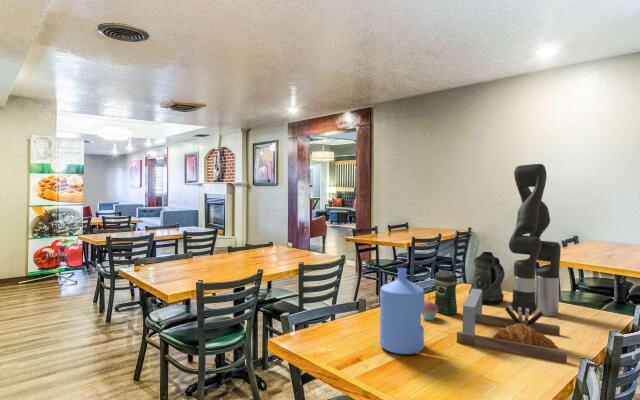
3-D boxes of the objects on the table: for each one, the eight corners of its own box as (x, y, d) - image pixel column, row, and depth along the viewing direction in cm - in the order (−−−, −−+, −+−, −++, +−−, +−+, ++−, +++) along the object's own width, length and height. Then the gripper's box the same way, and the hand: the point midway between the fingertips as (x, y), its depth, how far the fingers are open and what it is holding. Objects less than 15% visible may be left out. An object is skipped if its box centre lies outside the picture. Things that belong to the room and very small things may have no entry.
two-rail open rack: (466, 319, 162) (467, 287, 162) (559, 334, 146) (559, 299, 145) (456, 342, 137) (457, 304, 137) (566, 363, 121) (567, 320, 121)
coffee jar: (459, 313, 171) (460, 273, 170) (449, 316, 166) (450, 275, 165) (441, 308, 178) (441, 269, 178) (431, 311, 173) (431, 271, 173)
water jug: (398, 358, 124) (399, 275, 123) (371, 342, 137) (371, 266, 137) (433, 349, 131) (434, 270, 130) (404, 334, 145) (404, 263, 144)
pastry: (495, 350, 131) (495, 327, 131) (490, 336, 143) (490, 316, 143) (562, 358, 125) (562, 334, 125) (551, 343, 137) (551, 322, 137)
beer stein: (478, 294, 203) (479, 248, 203) (515, 302, 188) (516, 253, 188) (462, 299, 193) (463, 251, 192) (500, 308, 178) (501, 256, 177)
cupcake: (439, 322, 159) (439, 294, 159) (419, 320, 161) (419, 293, 160) (437, 315, 167) (437, 289, 167) (417, 314, 169) (418, 288, 169)
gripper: (544, 288, 140) (543, 333, 140) (505, 283, 146) (504, 327, 147) (544, 293, 133) (543, 341, 134) (503, 288, 140) (503, 333, 140)
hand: (523, 333), depth 140 cm, fingers closed
